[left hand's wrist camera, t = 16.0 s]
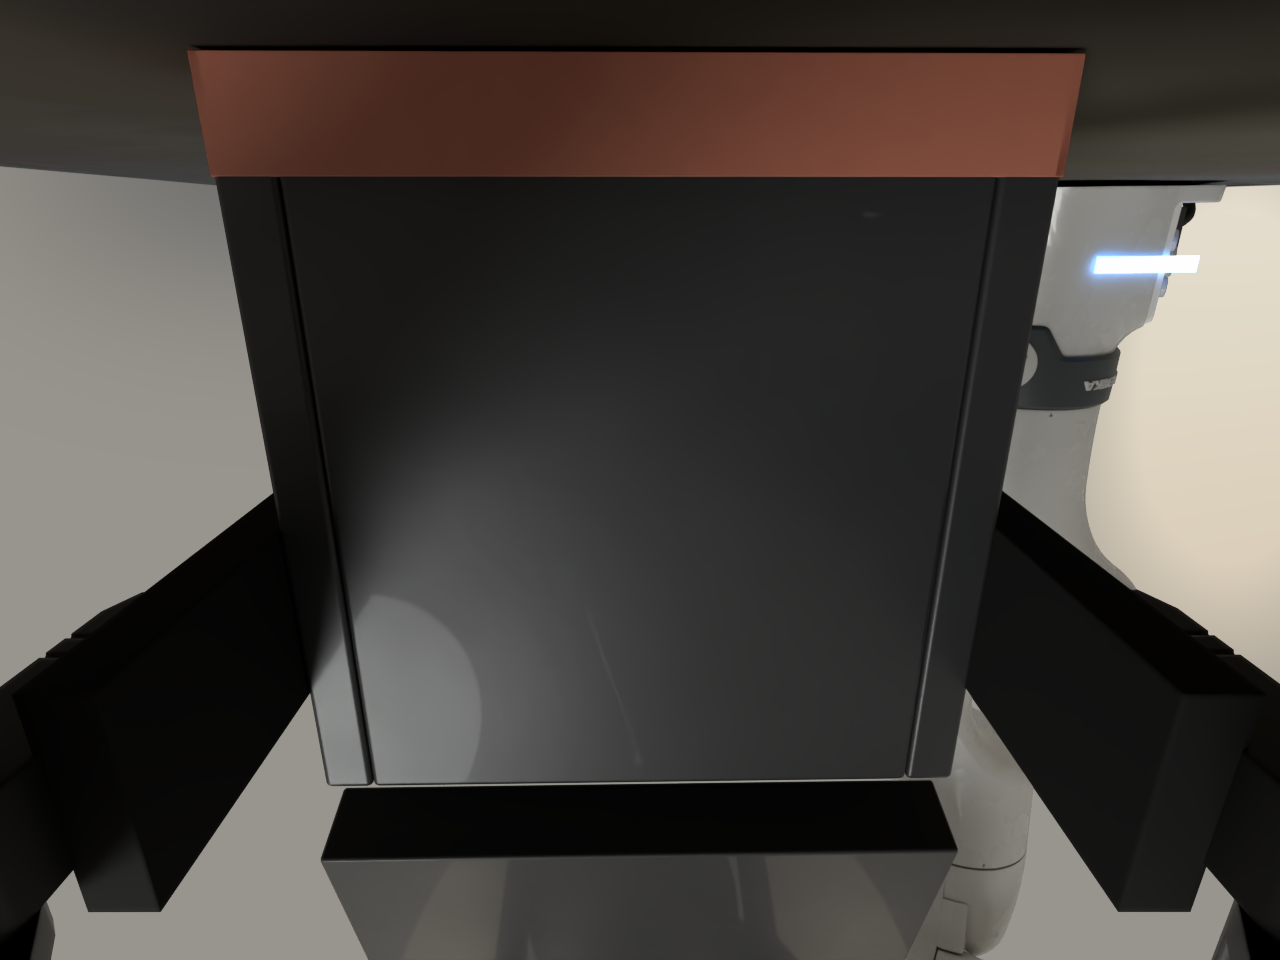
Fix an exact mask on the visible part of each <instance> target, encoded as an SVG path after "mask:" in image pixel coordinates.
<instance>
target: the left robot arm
mask: <svg viewBox="0 0 1280 960" xmlns="http://www.w3.org/2000/svg"><path fill="white" fill-rule="evenodd" d="M966 689H967V691H968V692H969V694H970V695H971V697H972V698H973V700H974V701H975V703H976V704H977V706H978V707H979V708H980V710H981V711H982V713H983V714H984V716H985V717H986V719H987V720H988V722H989V723H990V725H991V726H992V728H993V729H994V730H995V732H996V733H997V735H998V736H999V738H1000V739H1001V741H1002V742H1003V744H1004V745H1005V747H1006V748H1007V750H1008V751H1009V752H1010V754H1011V755H1012V757H1013V758H1014V760H1015V761H1016V763H1017V764H1018V766H1019V767H1020V769H1021V770H1022V771H1023V773H1024V774H1025V776H1026V777H1027V779H1028V780H1029V782H1030V783H1031V785H1032V786H1033V788H1034V789H1035V790H1036V792H1037V793H1038V795H1039V796H1040V798H1041V799H1042V801H1043V802H1044V804H1045V805H1046V807H1047V808H1048V809H1049V811H1050V813H1051V814H1052V815H1053V817H1054V818H1055V820H1056V821H1057V823H1058V824H1059V826H1060V827H1061V829H1062V830H1063V832H1064V833H1065V834H1066V836H1067V837H1068V839H1069V840H1070V842H1071V843H1072V845H1073V846H1074V848H1075V849H1076V851H1077V852H1078V854H1079V855H1080V856H1081V858H1082V859H1083V861H1084V862H1085V864H1086V865H1087V867H1088V868H1089V870H1090V871H1091V873H1092V874H1093V876H1094V877H1095V878H1096V880H1097V881H1098V883H1099V884H1100V886H1101V887H1102V889H1103V890H1104V892H1105V893H1106V895H1107V896H1108V897H1109V899H1110V900H1111V902H1112V903H1113V905H1114V906H1115V908H1116V909H1117V911H1118V912H1190V911H1191V908H1192V906H1193V903H1194V900H1195V897H1196V894H1197V892H1198V889H1199V886H1200V883H1201V880H1202V877H1203V875H1204V872H1205V869H1206V867H1207V868H1208V869H1209V870H1210V871H1211V872H1212V874H1213V875H1214V876H1215V877H1216V878H1217V879H1218V881H1219V882H1220V883H1221V884H1222V885H1223V886H1224V888H1225V889H1226V890H1227V891H1228V892H1229V893H1230V894H1231V896H1232V897H1233V898H1234V902H1233V904H1232V907H1231V910H1230V912H1229V915H1228V918H1227V920H1226V923H1225V926H1224V928H1223V931H1222V934H1221V936H1220V939H1219V941H1218V944H1217V947H1216V949H1215V952H1214V955H1213V957H1212V960H1280V684H1279V683H1278V682H1276V681H1275V680H1274V679H1273V678H1271V677H1270V676H1268V675H1267V674H1266V673H1264V672H1263V671H1262V670H1260V669H1259V668H1258V667H1256V666H1255V665H1254V664H1252V663H1251V662H1250V661H1248V660H1247V659H1245V658H1244V657H1243V656H1241V655H1235V654H1234V650H1233V649H1232V648H1231V647H1229V646H1228V645H1226V644H1225V643H1224V642H1222V641H1221V640H1220V639H1218V638H1217V637H1216V636H1214V635H1208V630H1206V629H1205V628H1203V627H1202V626H1201V625H1199V624H1198V623H1197V622H1195V621H1194V620H1193V619H1191V618H1190V617H1189V616H1187V615H1186V614H1184V613H1183V612H1182V611H1180V610H1179V609H1178V608H1176V607H1173V606H1171V605H1169V604H1167V603H1165V602H1163V601H1161V600H1158V599H1156V598H1154V597H1152V596H1150V595H1148V594H1146V593H1143V592H1141V591H1139V590H1131V589H1129V588H1128V587H1127V586H1126V585H1124V584H1123V583H1122V582H1120V581H1119V580H1118V579H1116V578H1115V577H1114V576H1113V575H1111V574H1110V573H1109V572H1107V571H1106V570H1105V569H1104V568H1102V567H1101V566H1100V565H1098V564H1097V563H1096V562H1094V561H1093V560H1092V559H1091V558H1089V557H1088V556H1087V555H1085V554H1084V553H1083V552H1081V551H1080V550H1079V549H1078V548H1076V547H1075V546H1074V545H1072V544H1071V543H1070V542H1068V541H1067V540H1066V539H1065V538H1063V537H1062V536H1061V535H1059V534H1058V533H1057V532H1055V531H1054V530H1053V529H1052V528H1050V527H1049V526H1048V525H1046V524H1045V523H1044V522H1043V521H1041V520H1040V519H1039V518H1037V517H1036V516H1035V515H1033V514H1032V513H1031V512H1030V511H1028V510H1027V509H1026V508H1024V507H1023V506H1022V505H1020V504H1019V503H1018V502H1017V501H1015V500H1014V499H1013V498H1011V497H1010V496H1009V495H1007V494H1006V493H1005V492H1004V491H1002V495H1001V500H1000V506H999V511H998V517H997V522H996V526H995V531H994V536H993V542H992V547H991V553H990V558H989V564H988V569H987V575H986V580H985V586H984V591H983V597H982V602H981V608H980V613H979V619H978V624H977V630H976V635H975V641H974V646H973V652H972V657H971V663H970V668H969V674H968V679H967V685H966ZM309 694H310V688H309V683H308V678H307V672H306V667H305V661H304V656H303V651H302V645H301V640H300V634H299V629H298V623H297V618H296V613H295V607H294V602H293V596H292V591H291V585H290V580H289V575H288V569H287V564H286V558H285V553H284V547H283V542H282V537H281V531H280V526H279V520H278V515H277V510H276V504H275V499H274V493H273V494H271V495H270V496H269V497H268V498H266V499H265V500H264V501H262V502H261V503H260V504H258V505H257V506H256V507H254V508H253V509H252V510H251V511H249V512H248V513H247V514H245V515H244V516H243V517H241V518H240V519H239V520H238V521H236V522H235V523H234V524H232V525H231V526H230V527H229V528H227V529H226V530H225V531H223V532H222V533H221V534H219V535H218V536H217V537H216V538H214V539H213V540H212V541H210V542H209V543H208V544H206V545H205V546H204V547H203V548H201V549H200V550H199V551H197V552H196V553H195V554H193V555H192V556H191V557H190V558H188V559H187V560H186V561H184V562H183V563H182V564H180V565H179V566H178V567H177V568H175V569H174V570H173V571H171V572H170V573H169V574H167V575H166V576H165V577H164V578H162V579H161V580H160V581H158V582H157V583H156V584H155V585H153V586H152V587H151V588H149V589H148V590H147V591H145V592H142V593H140V594H138V595H135V596H133V597H131V598H129V599H127V600H125V601H123V602H121V603H119V604H116V605H114V606H112V607H110V608H108V609H106V610H104V611H102V612H100V613H99V614H97V615H96V616H95V617H94V618H92V619H91V620H89V621H88V622H87V623H85V624H84V625H83V626H81V627H80V628H79V629H77V630H76V631H75V632H73V633H72V634H71V638H70V639H69V638H67V639H64V640H63V641H61V642H60V643H59V644H57V645H56V646H55V647H53V648H52V649H50V650H49V651H48V652H47V653H46V657H45V658H38V659H37V660H36V661H34V662H33V663H32V664H30V665H29V666H28V667H26V668H25V669H24V670H22V671H21V672H20V673H18V674H17V675H16V676H14V677H13V678H12V679H10V680H9V681H8V682H6V683H5V684H3V685H2V686H1V687H0V960H51V955H52V950H53V944H54V939H55V930H54V923H53V918H52V915H51V912H50V910H49V907H48V904H47V902H46V901H47V900H48V899H49V898H50V896H51V895H52V894H53V893H54V892H55V891H56V889H57V888H58V887H59V886H60V885H61V884H62V882H63V881H64V880H65V879H66V878H67V877H68V875H69V874H70V873H71V872H72V871H73V870H74V873H75V876H76V878H77V881H78V884H79V887H80V890H81V892H82V895H83V898H84V901H85V904H86V907H87V909H88V912H161V911H162V909H163V908H164V906H165V905H166V903H167V902H168V900H169V899H170V897H171V896H172V894H173V893H174V891H175V890H176V888H177V887H178V886H179V884H180V883H181V881H182V880H183V878H184V877H185V875H186V874H187V872H188V871H189V869H190V868H191V867H192V865H193V864H194V862H195V861H196V859H197V858H198V856H199V855H200V853H201V852H202V850H203V849H204V847H205V846H206V845H207V843H208V842H209V840H210V839H211V837H212V836H213V834H214V833H215V831H216V830H217V828H218V827H219V826H220V824H221V823H222V821H223V820H224V818H225V817H226V815H227V814H228V812H229V811H230V809H231V808H232V807H233V805H234V803H235V802H236V801H237V799H238V798H239V796H240V795H241V793H242V792H243V790H244V789H245V787H246V786H247V785H248V783H249V782H250V780H251V779H252V777H253V776H254V774H255V773H256V771H257V770H258V768H259V767H260V765H261V764H262V763H263V761H264V760H265V758H266V757H267V755H268V754H269V752H270V751H271V749H272V748H273V746H274V745H275V744H276V742H277V741H278V739H279V737H280V736H281V735H282V733H283V732H284V730H285V729H286V727H287V726H288V724H289V723H290V722H291V720H292V719H293V717H294V716H295V714H296V713H297V711H298V710H299V708H300V707H301V705H302V704H303V702H304V701H305V700H306V698H307V697H308V695H309Z"/></svg>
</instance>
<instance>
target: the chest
mask: <svg viewBox="0 0 1280 960" xmlns="http://www.w3.org/2000/svg"><path fill="white" fill-rule="evenodd" d="M187 52H188V57H189V63H190V68H191V73H192V79H193V84H194V89H195V95H196V100H197V106H198V111H199V116H200V122H201V127H202V132H203V138H204V143H205V148H206V154H207V159H208V165H209V170H210V175H211V176H212V177H215V179H216V184H217V190H218V195H219V201H220V206H221V211H222V217H223V222H224V228H225V233H226V238H227V244H228V249H229V255H230V260H231V265H232V271H233V276H234V282H235V287H236V293H237V298H238V304H239V309H240V314H241V320H242V325H243V331H244V336H245V341H246V347H247V352H248V358H249V363H250V369H251V374H252V379H253V385H254V390H255V396H256V401H257V407H258V412H259V417H260V423H261V428H262V433H263V439H264V444H265V450H266V455H267V461H268V466H269V472H270V477H271V482H272V488H273V493H274V499H275V504H276V510H277V515H278V520H279V526H280V531H281V537H282V542H283V547H284V553H285V558H286V564H287V569H288V575H289V580H290V585H291V591H292V596H293V602H294V607H295V613H296V618H297V623H298V629H299V634H300V640H301V645H302V651H303V656H304V661H305V667H306V672H307V678H308V683H309V688H310V694H311V699H312V705H313V710H314V715H315V721H316V726H317V732H318V737H319V743H320V748H321V753H322V759H323V764H324V770H325V775H326V780H327V784H328V785H330V786H367V785H370V784H372V783H373V781H374V782H375V783H376V784H377V785H442V784H443V785H445V784H518V783H589V782H590V783H591V782H665V781H738V780H811V779H883V778H902V777H903V776H904V774H905V775H906V776H907V777H909V778H946V777H949V776H950V775H951V770H952V764H953V759H954V753H955V748H956V742H957V737H958V731H959V726H960V720H961V715H962V709H963V704H964V698H965V693H966V685H967V679H968V674H969V668H970V663H971V657H972V652H973V646H974V641H975V635H976V630H977V624H978V619H979V613H980V608H981V602H982V597H983V591H984V586H985V580H986V575H987V569H988V564H989V558H990V553H991V547H992V542H993V536H994V531H995V526H996V522H997V517H998V511H999V506H1000V500H1001V495H1002V489H1003V484H1004V478H1005V473H1006V467H1007V462H1008V456H1009V450H1010V445H1011V439H1012V434H1013V428H1014V423H1015V417H1016V412H1017V406H1018V401H1019V395H1020V390H1021V384H1022V379H1023V373H1024V368H1025V362H1026V357H1027V351H1028V346H1029V340H1030V335H1031V329H1032V324H1033V318H1034V313H1035V307H1036V302H1037V296H1038V291H1039V285H1040V280H1041V274H1042V269H1043V263H1044V258H1045V252H1046V247H1047V241H1048V236H1049V230H1050V225H1051V219H1052V214H1053V208H1054V203H1055V197H1056V192H1057V186H1058V181H1059V177H1063V176H1064V171H1065V166H1066V160H1067V155H1068V149H1069V144H1070V138H1071V133H1072V128H1073V122H1074V117H1075V111H1076V106H1077V100H1078V95H1079V89H1080V84H1081V79H1082V73H1083V68H1084V62H1085V57H1086V54H1085V53H889V52H607V51H325V50H188V51H187Z"/></svg>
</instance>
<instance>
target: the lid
mask: <svg viewBox="0 0 1280 960" xmlns="http://www.w3.org/2000/svg"><path fill="white" fill-rule="evenodd" d="M957 853H958V848H957V845H956V842H955V840H954V837H953V834H952V832H951V829H950V826H949V824H948V821H947V818H946V816H945V813H944V810H943V808H942V805H941V802H940V800H939V797H938V794H937V792H936V789H935V786H934V784H933V782H932V781H931V780H897V781H825V782H753V783H752V782H751V783H678V784H606V785H533V786H460V787H386V788H346V789H345V790H344V792H343V795H342V798H341V800H340V803H339V806H338V809H337V812H336V815H335V818H334V821H333V824H332V827H331V830H330V833H329V836H328V839H327V842H326V845H325V848H324V851H323V854H322V857H321V863H322V865H323V867H324V869H325V871H326V873H327V875H328V877H329V879H330V881H331V883H332V885H333V887H334V889H335V892H336V894H337V896H338V898H339V900H340V902H341V904H342V906H343V908H344V910H345V912H346V914H347V916H348V918H349V921H350V923H351V925H352V927H353V929H354V931H355V933H356V935H357V937H358V939H359V941H360V943H361V945H362V947H363V949H364V952H365V954H366V956H367V958H368V960H905V958H906V956H907V954H908V952H909V950H910V948H911V946H912V944H913V942H914V940H915V938H916V936H917V934H918V932H919V930H920V928H921V926H922V924H923V922H924V920H925V918H926V916H927V913H928V911H929V909H930V907H931V905H932V903H933V901H934V899H935V897H936V895H937V893H938V891H939V889H940V887H941V885H942V883H943V881H944V879H945V877H946V875H947V873H948V871H949V869H950V867H951V865H952V863H953V861H954V859H955V857H956V855H957Z"/></svg>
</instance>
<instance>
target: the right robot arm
mask: <svg viewBox="0 0 1280 960" xmlns="http://www.w3.org/2000/svg"><path fill="white" fill-rule="evenodd" d="M1225 188H1226V185H1187V186H1094V187H1057V192H1056V197H1055V203H1054V208H1053V214H1052V219H1051V225H1050V230H1049V236H1048V241H1047V247H1046V252H1045V258H1044V263H1043V269H1042V274H1041V280H1040V285H1039V291H1038V296H1037V302H1036V307H1035V313H1034V318H1033V324H1032V329H1031V335H1030V340H1029V346H1028V351H1027V357H1026V362H1025V368H1024V373H1023V379H1022V384H1021V390H1020V395H1019V401H1018V406H1017V412H1016V417H1015V423H1014V428H1013V434H1012V439H1011V445H1010V450H1009V456H1008V462H1007V467H1006V473H1005V478H1004V484H1003V489H1002V491H1004V492H1005V493H1006V494H1007V495H1009V496H1010V497H1011V498H1013V499H1014V500H1015V501H1017V502H1018V503H1019V504H1020V505H1022V506H1023V507H1024V508H1026V509H1027V510H1028V511H1030V512H1031V513H1032V514H1033V515H1035V516H1036V517H1037V518H1039V519H1040V520H1041V521H1043V522H1044V523H1045V524H1046V525H1048V526H1049V527H1050V528H1052V529H1053V530H1054V531H1055V532H1057V533H1058V534H1059V535H1061V536H1062V537H1063V538H1065V539H1066V540H1067V541H1068V542H1070V543H1071V544H1072V545H1074V546H1075V547H1076V548H1078V549H1079V550H1080V551H1081V552H1083V553H1084V554H1085V555H1087V556H1088V557H1089V558H1091V559H1092V560H1093V561H1094V562H1096V563H1097V564H1098V565H1100V566H1101V567H1102V568H1104V569H1105V570H1106V571H1107V572H1109V573H1110V574H1111V575H1113V576H1114V577H1115V578H1116V579H1118V580H1119V581H1120V582H1122V583H1123V584H1124V585H1126V586H1127V587H1128V588H1129V589H1131V590H1137V589H1136V588H1135V586H1134V585H1133V583H1132V582H1131V581H1130V580H1129V578H1128V577H1127V576H1126V575H1125V574H1124V573H1123V572H1122V571H1121V570H1119V569H1118V568H1117V567H1116V566H1114V565H1113V564H1112V563H1111V562H1110V561H1109V560H1108V559H1106V557H1105V556H1104V555H1103V554H1102V553H1101V551H1100V550H1099V548H1098V547H1097V545H1096V543H1095V541H1094V539H1093V537H1092V534H1091V531H1090V528H1089V524H1088V520H1087V515H1086V505H1085V493H1086V483H1087V476H1088V469H1089V462H1090V456H1091V450H1092V444H1093V439H1094V434H1095V428H1096V423H1097V419H1098V414H1099V409H1100V405H1101V404H1102V403H1104V402H1105V401H1107V400H1108V399H1109V396H1110V392H1111V389H1112V385H1113V384H1114V383H1115V380H1116V376H1117V370H1116V369H1117V365H1118V361H1119V357H1120V350H1119V349H1118V347H1117V346H1118V344H1119V343H1120V342H1121V341H1122V340H1123V339H1124V338H1125V337H1126V336H1127V335H1129V334H1130V333H1131V332H1133V331H1134V330H1136V329H1138V328H1140V327H1142V326H1143V325H1144V324H1145V323H1148V322H1150V321H1151V320H1152V319H1153V316H1154V313H1155V309H1156V305H1157V301H1158V297H1163V296H1164V295H1165V292H1166V288H1167V284H1168V277H1167V276H1170V275H1171V273H1172V272H1196V269H1197V265H1198V261H1199V257H1200V256H1176V254H1177V247H1178V243H1179V239H1180V235H1181V231H1182V226H1184V225H1185V224H1187V223H1188V222H1189V221H1190V220H1191V219H1192V218H1193V217H1194V214H1195V210H1196V207H1195V203H1199V202H1219V201H1221V199H1222V196H1223V193H1224V191H1225ZM1182 204H1183V207H1182ZM897 780H931V781H932V782H933V784H934V786H935V789H936V792H937V794H938V797H939V800H940V802H941V805H942V808H943V810H944V813H945V816H946V818H947V821H948V824H949V826H950V829H951V832H952V834H953V837H954V840H955V842H956V845H957V848H958V853H957V855H956V857H955V859H954V861H953V863H952V865H951V867H950V869H949V871H948V873H947V875H946V877H945V879H944V881H943V883H942V885H941V887H940V889H939V891H938V893H937V895H936V897H935V899H934V901H933V903H932V905H931V907H930V909H929V911H928V913H927V916H926V918H925V920H924V922H923V924H922V926H921V928H920V930H919V932H918V934H917V936H916V938H915V940H914V942H913V944H912V946H911V948H910V950H909V952H908V954H907V956H906V958H905V960H982V959H980V958H978V957H975V956H979V955H982V954H985V953H987V952H989V951H990V950H992V949H993V948H994V947H995V946H996V945H997V944H998V943H999V942H1000V941H1001V939H1002V938H1003V936H1004V934H1005V931H1006V929H1007V926H1008V924H1009V921H1010V919H1011V916H1012V913H1013V910H1014V907H1015V904H1016V900H1017V896H1018V892H1019V889H1020V885H1021V880H1022V875H1023V870H1024V864H1025V857H1026V850H1027V840H1028V830H1029V822H1030V813H1031V804H1032V795H1033V786H1032V785H1031V783H1030V782H1029V780H1028V779H1027V777H1026V776H1025V774H1024V773H1023V771H1022V770H1021V769H1020V767H1019V766H1018V764H1017V763H1016V761H1015V760H1014V758H1013V757H1012V755H1011V754H1010V752H1009V751H1008V750H1007V748H1006V747H1005V745H1004V744H1003V742H1002V741H1001V739H1000V738H999V736H998V735H997V733H996V732H995V730H994V729H993V728H992V726H991V725H990V723H989V722H988V720H987V719H986V717H985V716H984V714H983V713H982V712H981V711H979V710H977V709H975V708H973V707H972V697H971V695H970V694H969V692H968V691H967V689H966V693H965V698H964V704H963V709H962V715H961V720H960V726H959V731H958V737H957V742H956V748H955V753H954V759H953V764H952V770H951V775H950V776H949V777H946V778H909V777H907V776H906V775H905V774H904V776H903V777H902V778H893V781H897Z"/></svg>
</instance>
